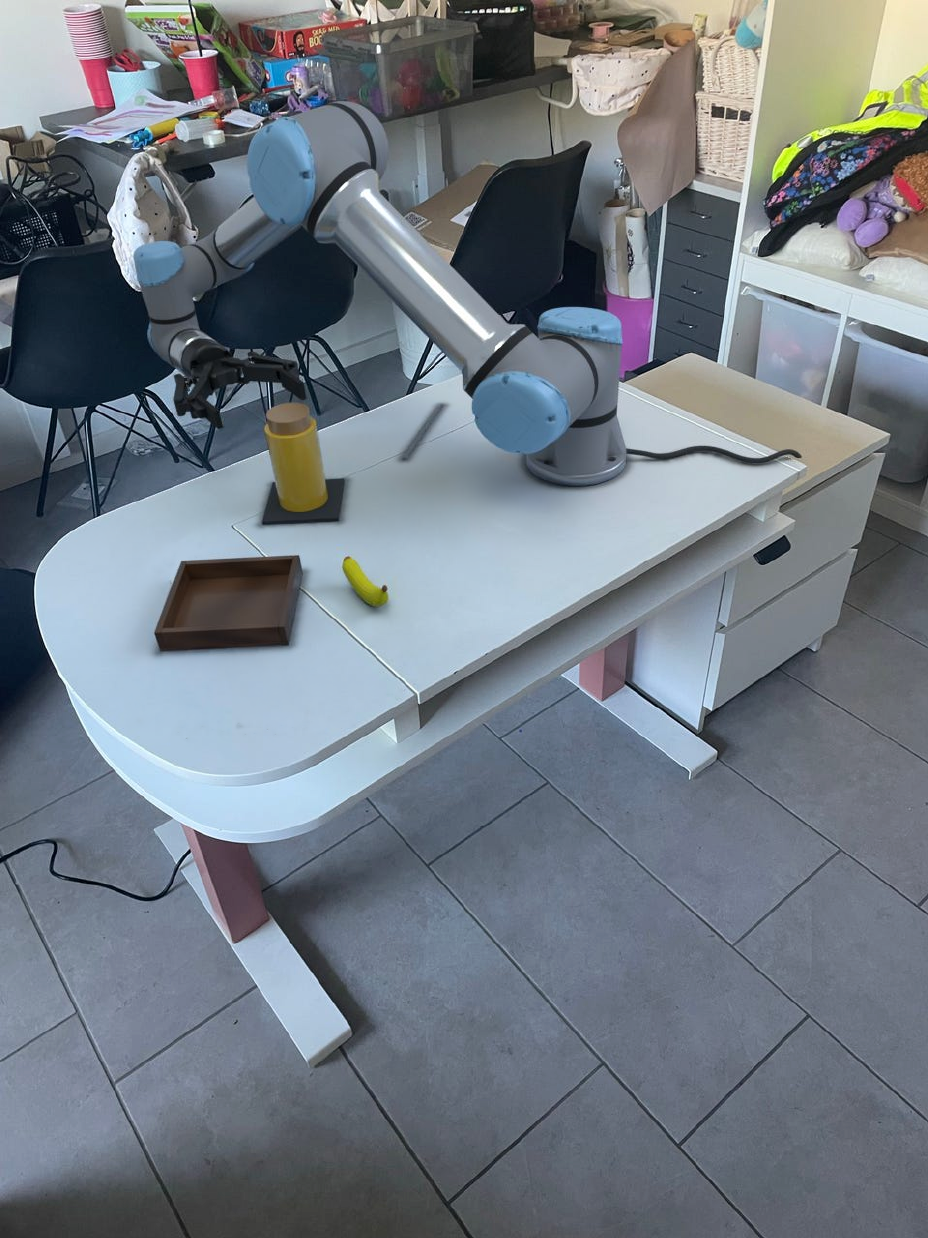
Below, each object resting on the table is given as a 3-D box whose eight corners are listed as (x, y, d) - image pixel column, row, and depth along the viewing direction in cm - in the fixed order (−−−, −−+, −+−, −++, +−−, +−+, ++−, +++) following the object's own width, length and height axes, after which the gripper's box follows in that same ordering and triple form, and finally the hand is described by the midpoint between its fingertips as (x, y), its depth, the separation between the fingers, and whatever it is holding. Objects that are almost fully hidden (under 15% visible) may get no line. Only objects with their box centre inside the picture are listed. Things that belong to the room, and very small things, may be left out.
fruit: (397, 615, 113) (393, 583, 110) (382, 622, 112) (378, 590, 109) (356, 577, 119) (351, 546, 116) (342, 583, 118) (336, 552, 115)
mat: (345, 481, 138) (344, 477, 138) (338, 521, 130) (338, 517, 130) (273, 485, 139) (272, 481, 138) (262, 525, 130) (261, 521, 130)
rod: (444, 407, 157) (444, 403, 156) (406, 461, 143) (406, 457, 142) (440, 406, 157) (440, 402, 156) (402, 460, 143) (402, 456, 143)
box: (303, 573, 121) (299, 554, 119) (288, 645, 109) (284, 626, 107) (186, 579, 121) (180, 560, 119) (160, 651, 110) (153, 632, 108)
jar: (330, 484, 137) (316, 399, 128) (325, 510, 131) (310, 423, 122) (282, 487, 137) (265, 401, 128) (276, 513, 131) (257, 425, 122)
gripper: (276, 360, 154) (339, 403, 140) (134, 405, 143) (187, 456, 129) (268, 317, 149) (332, 356, 135) (121, 360, 138) (174, 407, 125)
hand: (261, 405), depth 132 cm, fingers open, 13 cm apart
